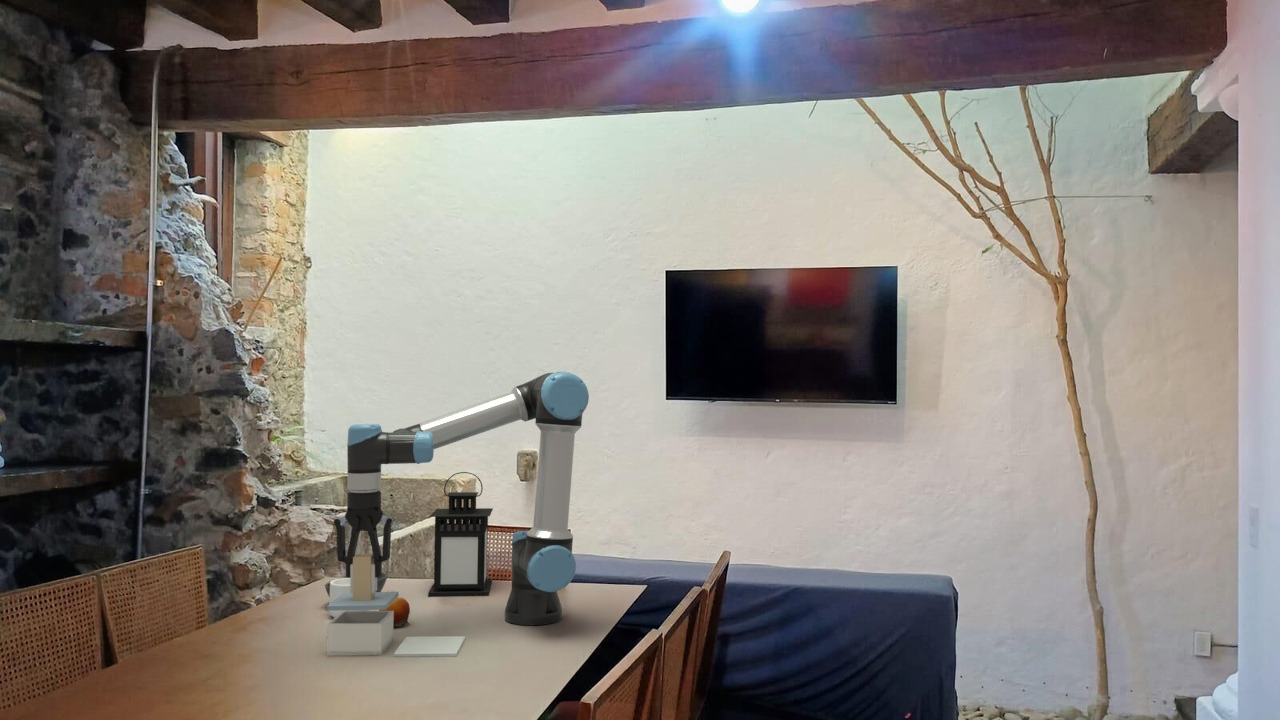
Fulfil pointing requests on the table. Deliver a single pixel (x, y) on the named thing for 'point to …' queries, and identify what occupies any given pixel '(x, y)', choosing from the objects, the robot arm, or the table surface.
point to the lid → (362, 589)
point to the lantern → (461, 547)
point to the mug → (339, 593)
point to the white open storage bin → (360, 633)
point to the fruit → (399, 611)
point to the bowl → (380, 583)
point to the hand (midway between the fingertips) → (363, 591)
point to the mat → (430, 646)
